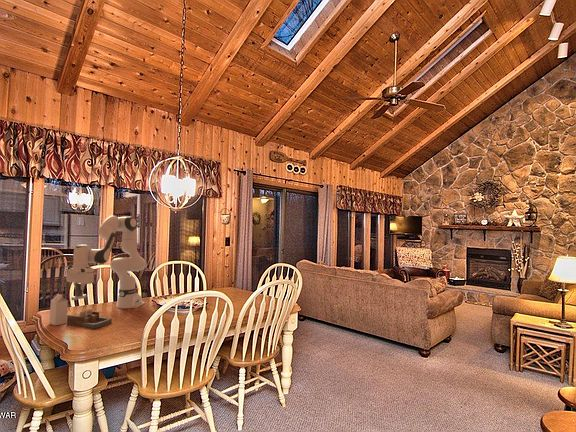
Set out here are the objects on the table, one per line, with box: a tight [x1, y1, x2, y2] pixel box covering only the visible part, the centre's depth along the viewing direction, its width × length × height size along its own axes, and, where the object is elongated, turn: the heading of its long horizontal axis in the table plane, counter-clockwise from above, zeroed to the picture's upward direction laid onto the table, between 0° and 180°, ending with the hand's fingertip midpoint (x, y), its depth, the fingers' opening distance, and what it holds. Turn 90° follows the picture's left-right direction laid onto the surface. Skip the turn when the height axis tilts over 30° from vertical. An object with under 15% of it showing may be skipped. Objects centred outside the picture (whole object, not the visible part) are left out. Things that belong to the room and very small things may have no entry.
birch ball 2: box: [86, 308, 94, 315], centre depth 230 cm, size 4×4×4 cm
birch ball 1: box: [79, 310, 87, 317], centre depth 225 cm, size 4×4×4 cm
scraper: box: [70, 283, 87, 301], centre depth 230 cm, size 10×3×10 cm, turn 163°
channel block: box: [66, 309, 100, 328], centre depth 228 cm, size 14×12×6 cm
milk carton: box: [49, 293, 69, 326], centre depth 226 cm, size 7×7×19 cm
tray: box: [81, 316, 112, 330], centre depth 225 cm, size 14×10×3 cm
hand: (79, 289), depth 230 cm, fingers closed on scraper, 3 cm apart
